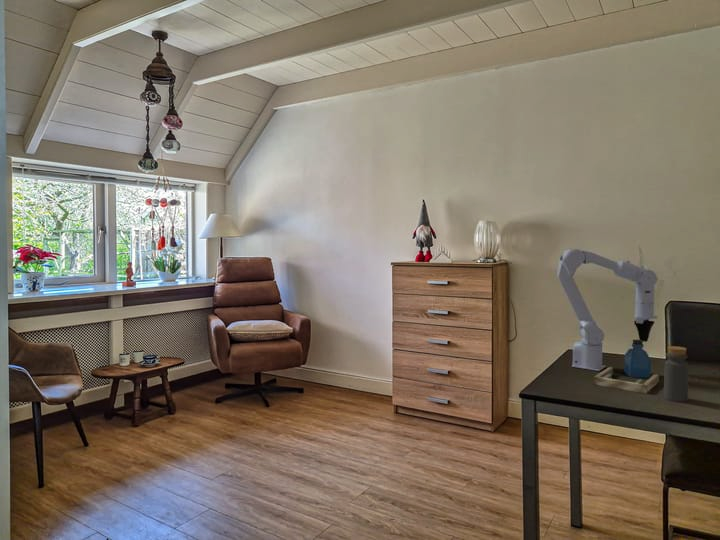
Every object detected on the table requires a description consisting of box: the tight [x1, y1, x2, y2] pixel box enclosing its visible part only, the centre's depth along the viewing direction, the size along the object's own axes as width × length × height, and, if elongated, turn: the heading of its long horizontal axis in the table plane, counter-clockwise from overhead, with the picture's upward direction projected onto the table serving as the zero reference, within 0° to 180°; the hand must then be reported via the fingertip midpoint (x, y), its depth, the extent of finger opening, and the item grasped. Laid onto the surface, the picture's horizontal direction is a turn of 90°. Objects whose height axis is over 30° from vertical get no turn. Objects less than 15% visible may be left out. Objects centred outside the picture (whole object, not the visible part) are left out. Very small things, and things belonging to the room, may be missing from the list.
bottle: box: [663, 345, 690, 403], centre depth 143 cm, size 6×6×15 cm
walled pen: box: [593, 366, 660, 394], centre depth 160 cm, size 15×17×2 cm
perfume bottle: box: [623, 339, 652, 379], centre depth 170 cm, size 6×6×12 cm
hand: (643, 341), depth 176 cm, fingers closed
